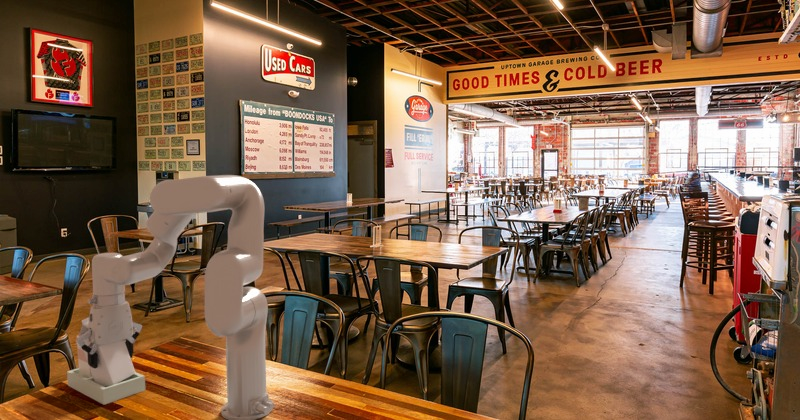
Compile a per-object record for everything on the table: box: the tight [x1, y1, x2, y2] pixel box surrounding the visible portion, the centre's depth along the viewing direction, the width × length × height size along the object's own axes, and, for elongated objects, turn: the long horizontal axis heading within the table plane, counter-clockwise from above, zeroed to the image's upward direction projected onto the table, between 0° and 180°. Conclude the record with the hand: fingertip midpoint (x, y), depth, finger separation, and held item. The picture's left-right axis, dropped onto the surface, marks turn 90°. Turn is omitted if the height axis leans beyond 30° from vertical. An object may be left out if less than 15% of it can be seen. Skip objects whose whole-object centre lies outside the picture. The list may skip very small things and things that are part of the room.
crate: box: [66, 367, 146, 406], centre depth 148 cm, size 21×11×5 cm, turn 54°
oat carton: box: [76, 335, 93, 379], centre depth 151 cm, size 7×7×14 cm
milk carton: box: [78, 317, 136, 387], centre depth 145 cm, size 7×7×19 cm
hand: (111, 361), depth 145 cm, fingers open, 8 cm apart
